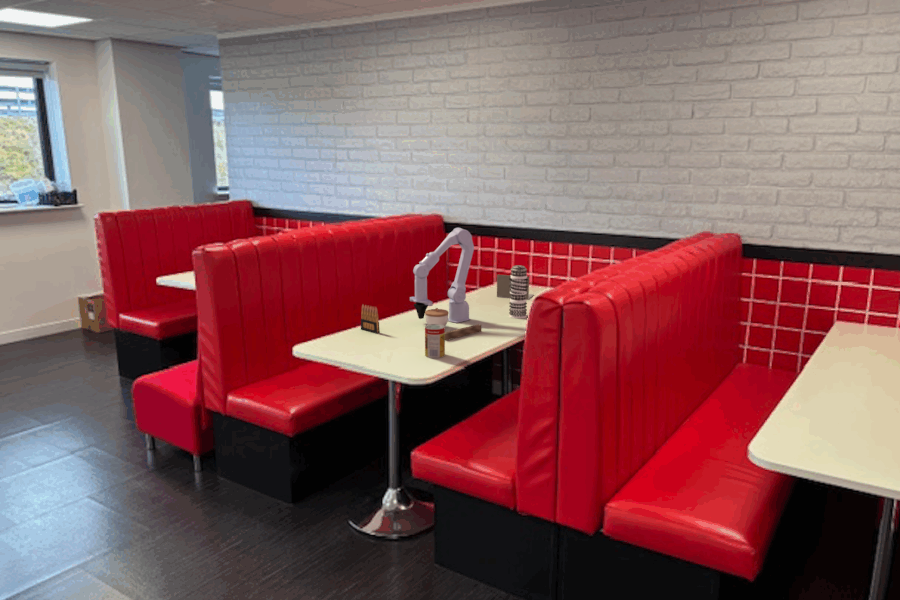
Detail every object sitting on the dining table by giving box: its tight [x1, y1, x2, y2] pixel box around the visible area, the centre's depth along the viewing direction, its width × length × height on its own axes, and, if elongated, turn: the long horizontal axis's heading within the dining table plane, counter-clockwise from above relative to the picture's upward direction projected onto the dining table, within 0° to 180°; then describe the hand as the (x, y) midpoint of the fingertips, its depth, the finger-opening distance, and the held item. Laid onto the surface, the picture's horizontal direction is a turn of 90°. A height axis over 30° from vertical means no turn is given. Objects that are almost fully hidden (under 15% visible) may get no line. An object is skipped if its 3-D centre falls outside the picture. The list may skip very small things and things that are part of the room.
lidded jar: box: [424, 307, 449, 327], centre depth 315 cm, size 11×11×9 cm
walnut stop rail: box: [445, 323, 483, 341], centre depth 303 cm, size 22×2×3 cm, turn 132°
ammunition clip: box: [360, 303, 381, 334], centre depth 309 cm, size 11×2×12 cm, turn 48°
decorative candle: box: [508, 264, 528, 319], centre depth 335 cm, size 9×9×25 cm
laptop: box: [496, 274, 534, 301], centre depth 381 cm, size 18×12×13 cm
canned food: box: [424, 324, 446, 359], centre depth 274 cm, size 8×8×12 cm
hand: (421, 318), depth 324 cm, fingers closed
